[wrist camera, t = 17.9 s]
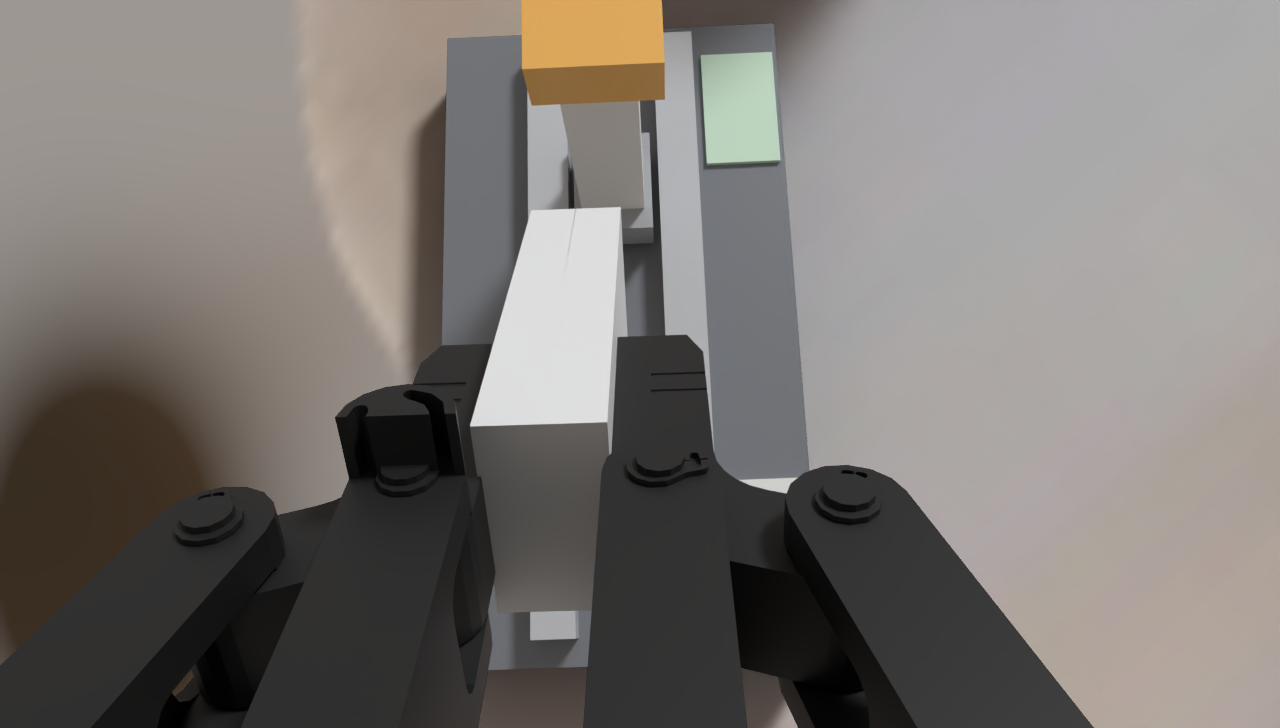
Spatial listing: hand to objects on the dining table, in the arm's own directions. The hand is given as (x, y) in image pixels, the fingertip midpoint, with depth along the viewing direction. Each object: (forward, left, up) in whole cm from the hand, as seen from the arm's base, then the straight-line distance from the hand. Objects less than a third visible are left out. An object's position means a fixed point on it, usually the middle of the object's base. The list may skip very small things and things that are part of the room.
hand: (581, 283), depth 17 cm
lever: (+10, -5, -21) cm, 23 cm away
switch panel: (+5, -3, -24) cm, 25 cm away
